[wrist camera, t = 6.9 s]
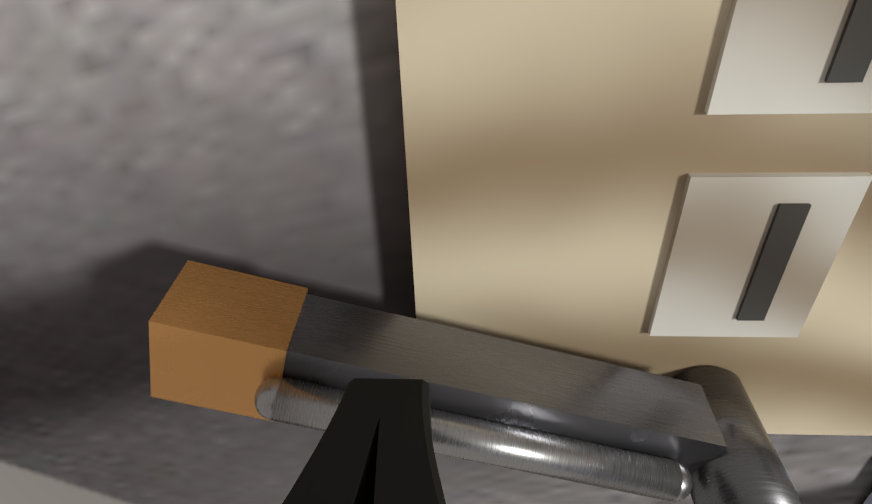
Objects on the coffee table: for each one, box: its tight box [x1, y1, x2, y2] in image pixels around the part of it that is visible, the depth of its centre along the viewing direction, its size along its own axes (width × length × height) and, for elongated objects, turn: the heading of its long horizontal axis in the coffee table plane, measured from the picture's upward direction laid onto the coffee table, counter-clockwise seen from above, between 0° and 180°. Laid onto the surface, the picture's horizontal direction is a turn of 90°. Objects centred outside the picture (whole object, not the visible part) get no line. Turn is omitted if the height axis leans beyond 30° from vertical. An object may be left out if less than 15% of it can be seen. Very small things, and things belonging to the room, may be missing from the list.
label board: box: [396, 0, 872, 436], centre depth 14 cm, size 18×16×1 cm
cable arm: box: [149, 260, 802, 504], centre depth 15 cm, size 16×3×4 cm, turn 75°
